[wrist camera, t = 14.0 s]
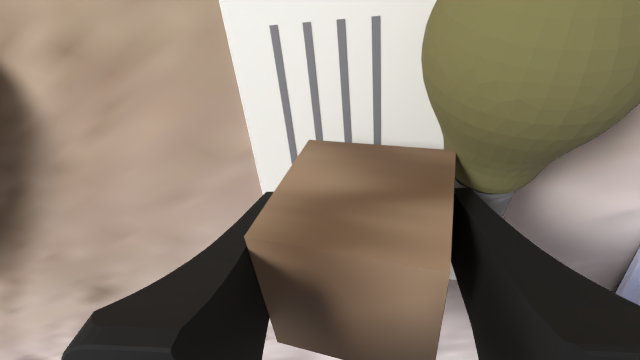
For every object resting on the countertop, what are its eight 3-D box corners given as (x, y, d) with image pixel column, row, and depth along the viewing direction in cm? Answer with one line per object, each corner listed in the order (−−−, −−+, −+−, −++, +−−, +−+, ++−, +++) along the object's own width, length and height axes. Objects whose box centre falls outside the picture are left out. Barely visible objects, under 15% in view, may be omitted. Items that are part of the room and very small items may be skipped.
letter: (525, -33, 11) (527, -33, 11) (468, 277, 19) (468, 280, 18) (219, -2, 13) (218, -2, 12) (281, 274, 20) (281, 276, 20)
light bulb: (566, 202, 15) (775, -106, 7) (508, 303, 12) (741, -18, 5) (442, 147, 17) (503, -117, 10) (373, 219, 15) (388, -66, 8)
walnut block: (456, 150, 11) (450, 272, 8) (441, 257, 14) (431, 383, 11) (308, 139, 13) (243, 236, 9) (322, 237, 16) (277, 341, 12)
